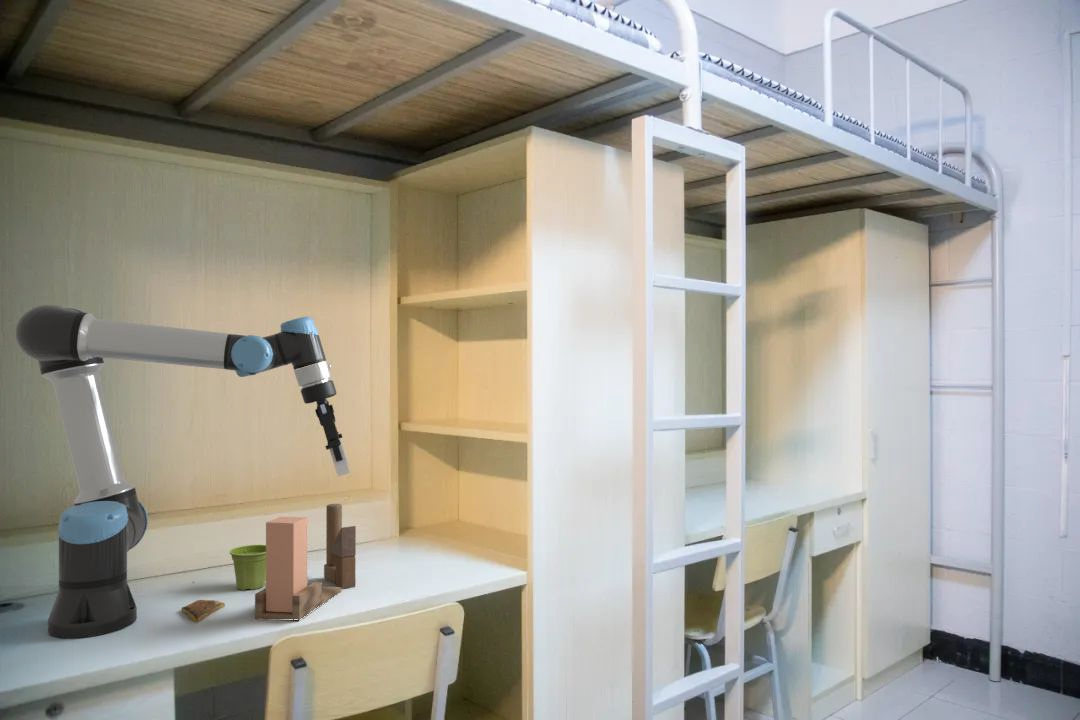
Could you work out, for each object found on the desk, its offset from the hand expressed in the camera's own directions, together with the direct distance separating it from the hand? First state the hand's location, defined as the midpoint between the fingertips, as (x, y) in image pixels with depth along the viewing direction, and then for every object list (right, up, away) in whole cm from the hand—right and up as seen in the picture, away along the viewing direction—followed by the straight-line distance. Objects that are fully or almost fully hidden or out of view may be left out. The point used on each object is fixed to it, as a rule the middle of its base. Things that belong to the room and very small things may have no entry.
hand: (343, 470), depth 174 cm
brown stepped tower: (-1, -27, +2) cm, 27 cm away
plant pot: (-21, -27, -1) cm, 35 cm away
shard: (-23, -27, -19) cm, 41 cm away
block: (-6, -25, -20) cm, 33 cm away
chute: (-6, -27, -14) cm, 31 cm away
